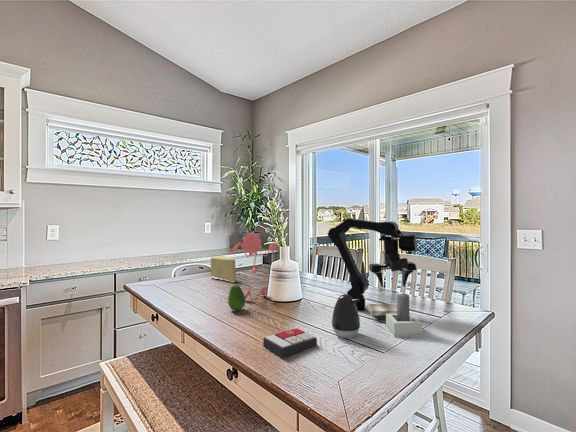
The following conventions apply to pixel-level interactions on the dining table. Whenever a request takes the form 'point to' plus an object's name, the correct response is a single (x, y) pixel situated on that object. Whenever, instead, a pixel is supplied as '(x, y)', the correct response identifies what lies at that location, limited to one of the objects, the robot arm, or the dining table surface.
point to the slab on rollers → (382, 310)
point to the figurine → (251, 246)
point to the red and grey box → (289, 342)
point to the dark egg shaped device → (346, 317)
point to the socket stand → (404, 326)
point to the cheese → (223, 268)
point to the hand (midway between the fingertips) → (393, 286)
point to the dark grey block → (403, 307)
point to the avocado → (236, 298)
